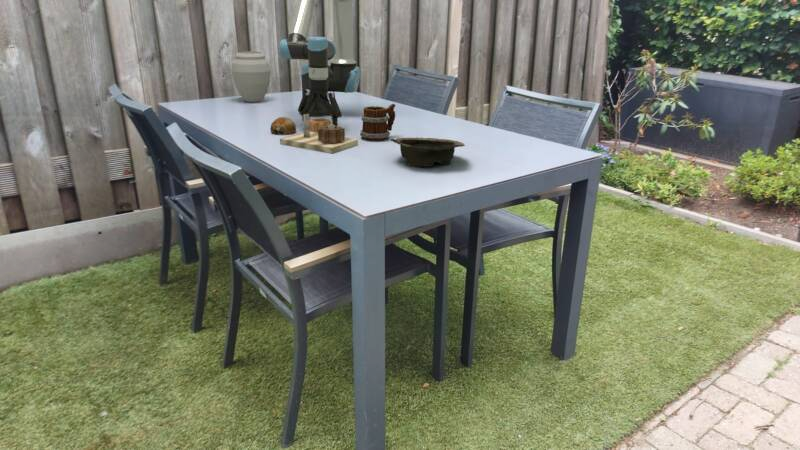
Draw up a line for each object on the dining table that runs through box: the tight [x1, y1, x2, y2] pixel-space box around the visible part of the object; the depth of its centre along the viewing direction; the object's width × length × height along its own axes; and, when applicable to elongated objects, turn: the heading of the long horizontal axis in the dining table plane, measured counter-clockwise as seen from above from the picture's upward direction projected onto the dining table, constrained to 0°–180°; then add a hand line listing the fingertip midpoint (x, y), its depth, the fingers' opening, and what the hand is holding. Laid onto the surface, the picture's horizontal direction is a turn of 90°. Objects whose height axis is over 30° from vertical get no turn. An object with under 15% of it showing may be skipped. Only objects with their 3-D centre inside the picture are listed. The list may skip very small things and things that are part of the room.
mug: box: [359, 103, 396, 142], centre depth 220 cm, size 12×14×15 cm
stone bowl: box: [390, 137, 466, 168], centre depth 191 cm, size 25×25×9 cm
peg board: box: [279, 120, 359, 155], centre depth 209 cm, size 24×16×8 cm, turn 60°
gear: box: [309, 117, 331, 133], centre depth 228 cm, size 10×10×5 cm
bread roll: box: [270, 116, 297, 136], centre depth 227 cm, size 10×10×8 cm
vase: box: [230, 50, 272, 103], centre depth 287 cm, size 20×20×24 cm
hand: (319, 132), depth 229 cm, fingers open, 13 cm apart
